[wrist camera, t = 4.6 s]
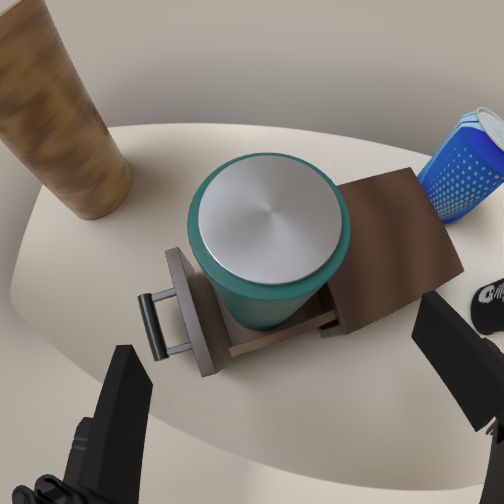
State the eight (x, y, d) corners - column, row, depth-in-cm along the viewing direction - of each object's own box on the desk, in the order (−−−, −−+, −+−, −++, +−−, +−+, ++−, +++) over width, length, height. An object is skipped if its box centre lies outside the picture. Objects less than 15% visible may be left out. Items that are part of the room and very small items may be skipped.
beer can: (402, 200, 33) (466, 119, 18) (421, 166, 35) (473, 91, 20) (447, 240, 31) (525, 179, 16) (462, 201, 33) (524, 139, 18)
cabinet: (321, 338, 27) (347, 334, 20) (281, 236, 31) (290, 198, 23) (422, 290, 29) (464, 270, 21) (381, 204, 33) (410, 166, 25)
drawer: (174, 382, 25) (152, 390, 19) (146, 283, 28) (120, 266, 22) (334, 327, 27) (356, 321, 21) (296, 234, 30) (306, 205, 24)
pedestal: (71, 230, 32) (-73, 87, 5) (71, 173, 35) (-28, 36, 8) (135, 203, 33) (16, 4, 6) (128, 148, 36) (51, -21, 9)
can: (239, 340, 25) (212, 325, 9) (218, 277, 27) (170, 171, 11) (303, 317, 26) (381, 262, 10) (280, 256, 28) (311, 133, 12)
